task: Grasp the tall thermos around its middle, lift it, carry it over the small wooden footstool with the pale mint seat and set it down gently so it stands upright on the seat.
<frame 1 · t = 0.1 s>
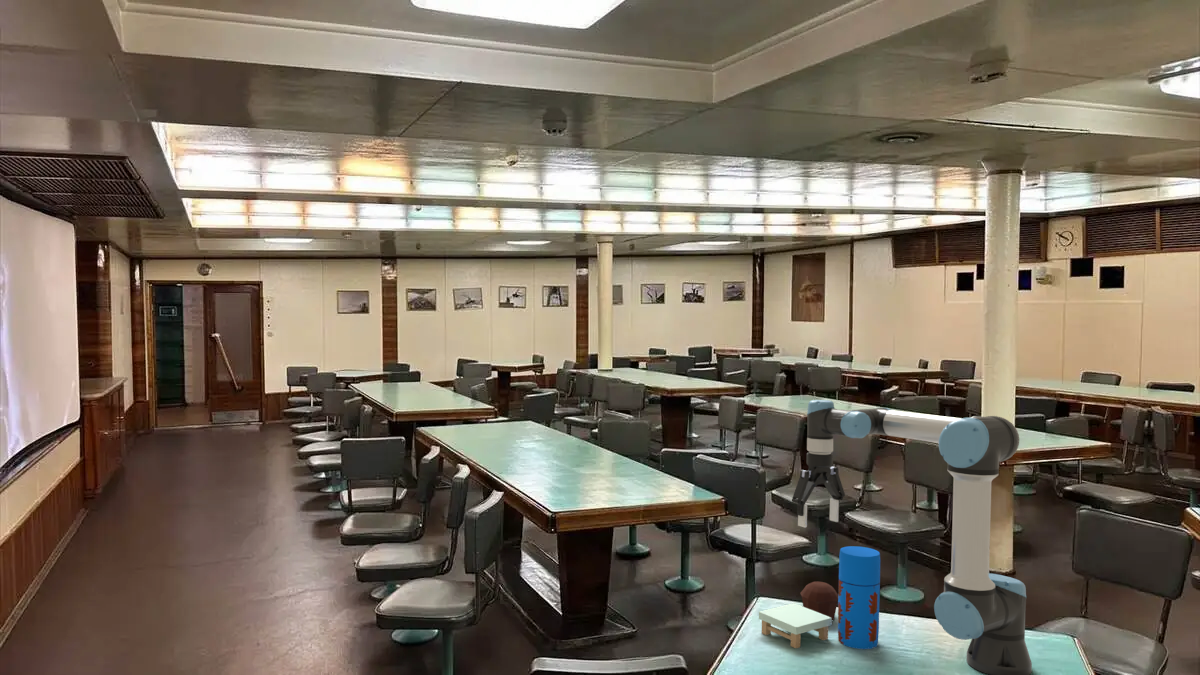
hand: (818, 523, 247), 28 cm above the table, fingers open, 13 cm apart
footstool: (794, 636, 233), on the table
muffin: (819, 617, 249), on the table
thermos: (857, 642, 230), on the table
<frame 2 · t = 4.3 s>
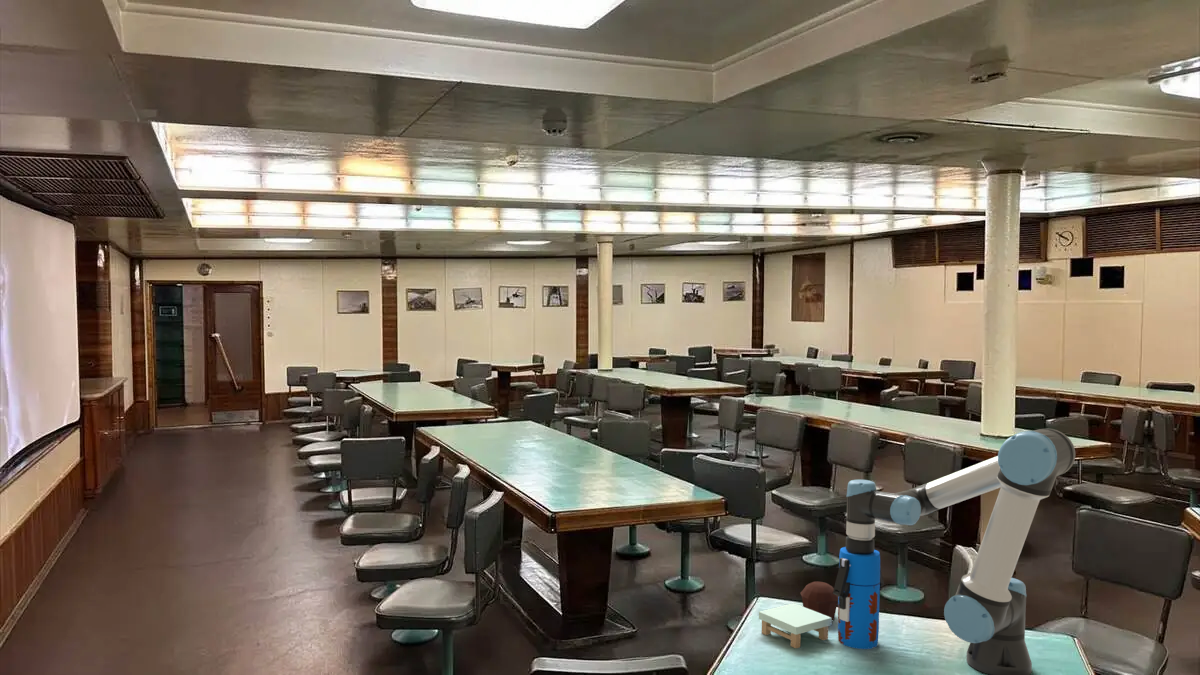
hand: (858, 616, 229), 7 cm above the table, fingers closed on thermos, 11 cm apart
thermos: (857, 642, 230), on the table, touching gripper
everything else where it was.
when the fingers open (14 cm above the table, at t = 8.9 s): thermos drops 1 cm, resting on footstool.
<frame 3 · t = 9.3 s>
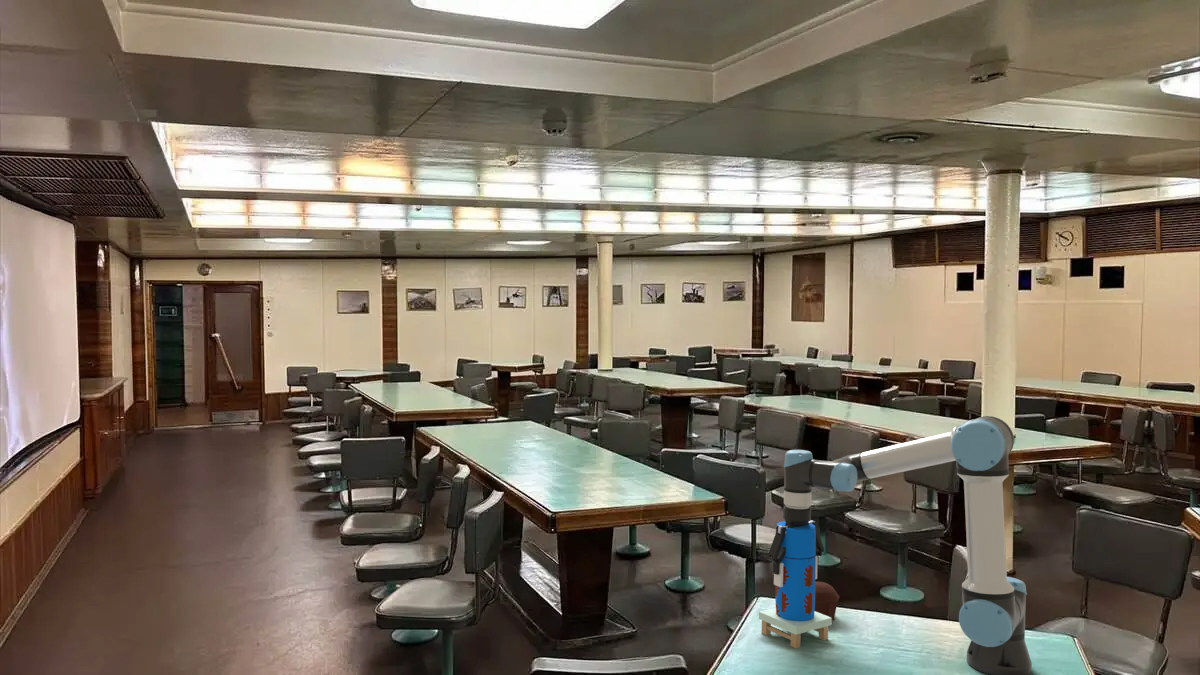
hand: (795, 581, 233), 15 cm above the table, fingers open, 13 cm apart
thermos: (795, 615, 233), point 6 cm above the table, touching footstool
everything else where it was.
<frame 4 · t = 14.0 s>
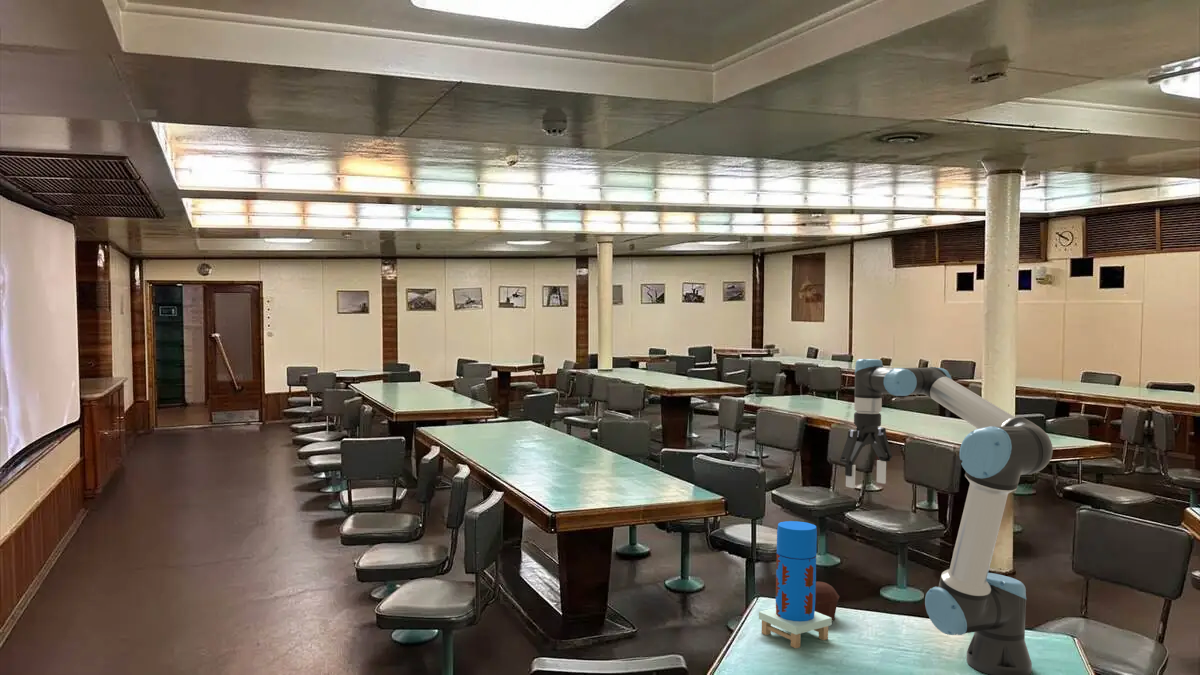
hand: (865, 485, 242), 41 cm above the table, fingers open, 13 cm apart
nothing on the table moved.
at the end: thermos inside the target area on the footstool (0.1 cm from its centre), point 5.8 cm above the footstool's base; thermos tilted 0°; the gripper is holding nothing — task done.
